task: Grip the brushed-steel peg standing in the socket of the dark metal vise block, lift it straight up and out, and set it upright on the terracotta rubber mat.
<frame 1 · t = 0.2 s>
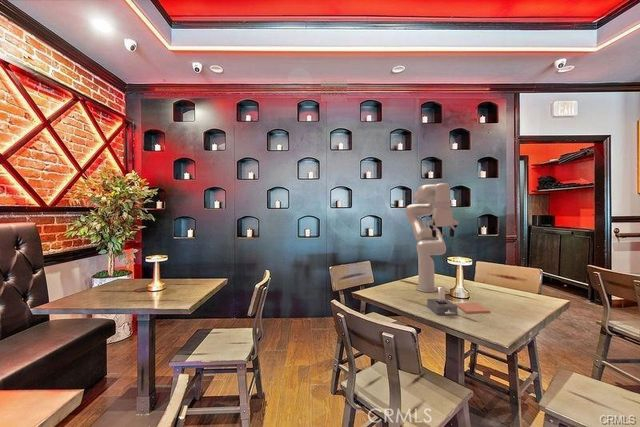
hand: (443, 237, 157), 36 cm above the table, tool pointing down, fingers open, 9 cm apart
vise block: (441, 310, 146), on the table
terracotta mat: (471, 308, 147), on the table
steel peg: (441, 298, 146), in the vise block
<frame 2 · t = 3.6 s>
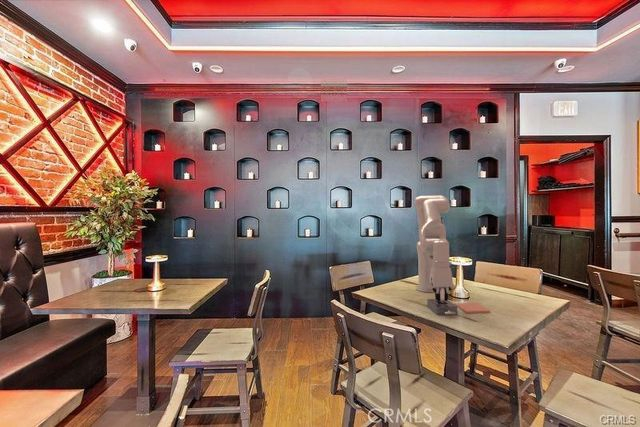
hand: (441, 300, 146), 5 cm above the table, tool pointing down, fingers closed on steel peg, 3 cm apart
steel peg: (441, 298, 146), in the vise block, touching gripper
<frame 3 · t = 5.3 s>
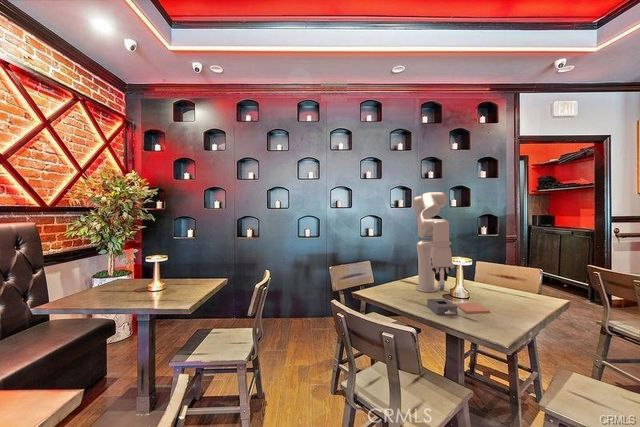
hand: (441, 280, 146), 15 cm above the table, tool pointing down, fingers closed on steel peg, 3 cm apart
steel peg: (441, 278, 146), point 16 cm above the table, touching gripper
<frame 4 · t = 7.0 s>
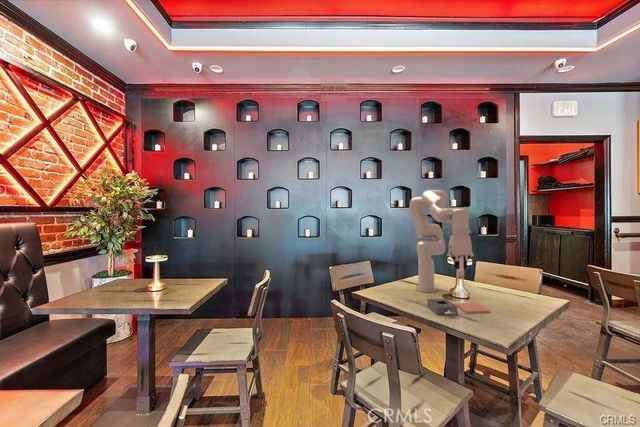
hand: (460, 268, 146), 21 cm above the table, tool pointing down, fingers closed on steel peg, 3 cm apart
steel peg: (460, 266, 146), point 22 cm above the table, touching gripper
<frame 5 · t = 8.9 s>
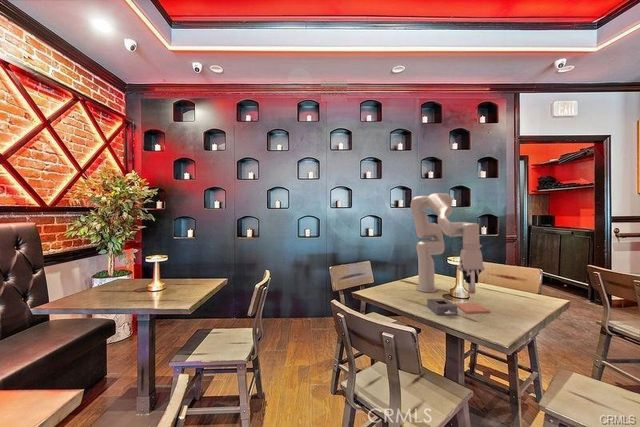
hand: (471, 282, 147), 14 cm above the table, tool pointing down, fingers closed on steel peg, 3 cm apart
steel peg: (471, 281, 147), point 14 cm above the table, touching gripper
when the fingers open (7 cm above the table, at t = 10.7 s): steel peg drops 1 cm, resting on terracotta mat.
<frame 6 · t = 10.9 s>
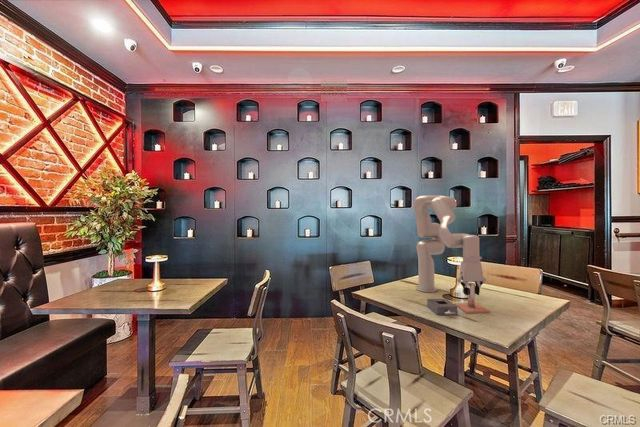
hand: (471, 294, 147), 8 cm above the table, tool pointing down, fingers open, 5 cm apart
steel peg: (471, 295, 147), on the terracotta mat, point 7 cm above the table
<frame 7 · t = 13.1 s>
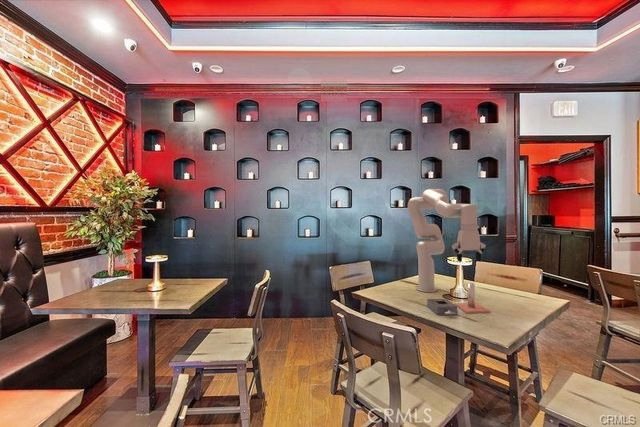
hand: (468, 261, 148), 24 cm above the table, tool pointing down, fingers open, 9 cm apart
nothing on the table moved.
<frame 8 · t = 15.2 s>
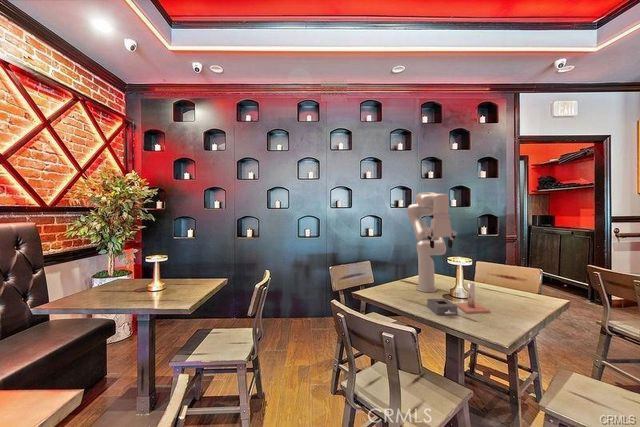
hand: (441, 247, 156), 30 cm above the table, tool pointing down, fingers open, 9 cm apart
nothing on the table moved.
at the end: steel peg inside the target area on the terracotta mat (0.1 cm from its centre), point 7.0 cm above the terracotta mat's base; steel peg tilted 0°; the gripper is holding nothing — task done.
